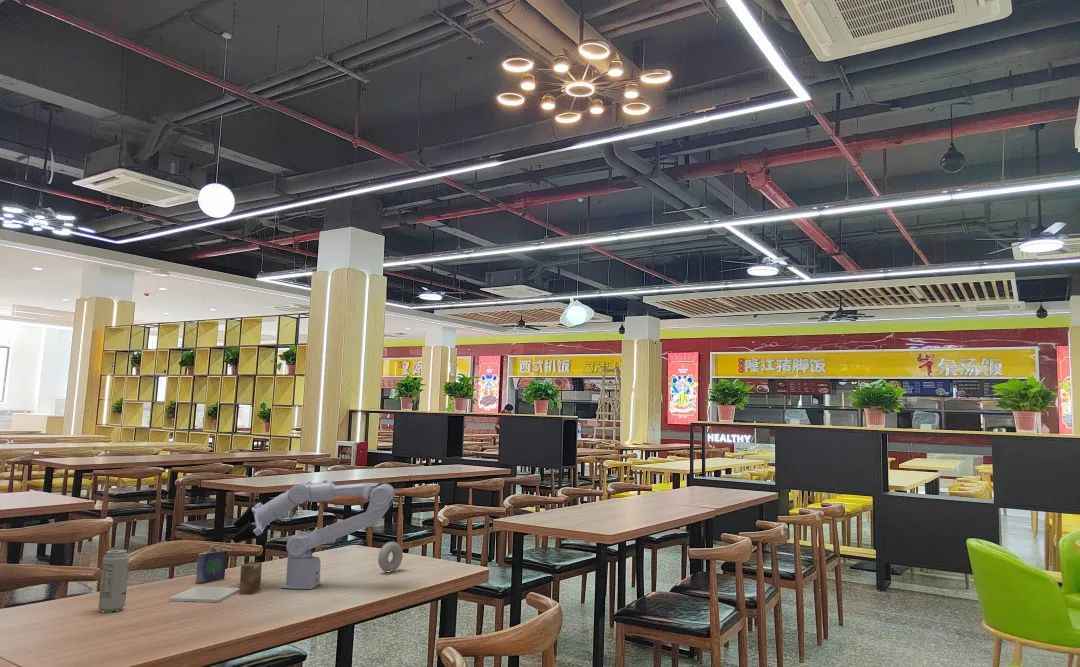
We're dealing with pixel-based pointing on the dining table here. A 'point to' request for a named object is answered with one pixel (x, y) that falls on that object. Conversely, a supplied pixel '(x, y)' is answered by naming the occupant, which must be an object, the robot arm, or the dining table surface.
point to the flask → (211, 565)
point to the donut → (384, 555)
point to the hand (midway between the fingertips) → (234, 533)
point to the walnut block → (250, 578)
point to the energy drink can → (114, 580)
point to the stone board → (205, 594)
